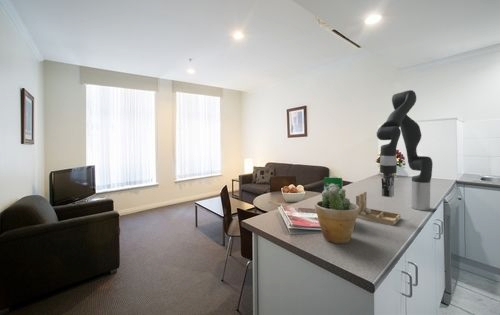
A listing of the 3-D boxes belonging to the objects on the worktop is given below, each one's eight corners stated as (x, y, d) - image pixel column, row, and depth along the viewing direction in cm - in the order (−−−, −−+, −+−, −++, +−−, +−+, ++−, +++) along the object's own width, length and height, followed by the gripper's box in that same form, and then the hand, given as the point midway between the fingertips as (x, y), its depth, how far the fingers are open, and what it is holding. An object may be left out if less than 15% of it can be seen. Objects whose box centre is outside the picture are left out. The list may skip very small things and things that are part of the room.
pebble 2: (366, 212, 129) (366, 207, 129) (372, 213, 127) (372, 208, 127) (364, 213, 127) (364, 208, 127) (370, 214, 125) (370, 209, 125)
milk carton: (342, 218, 122) (342, 175, 121) (342, 224, 114) (341, 177, 112) (325, 216, 126) (325, 174, 124) (324, 222, 118) (323, 177, 116)
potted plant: (310, 230, 107) (310, 181, 106) (348, 229, 107) (348, 180, 105) (322, 247, 89) (321, 188, 87) (367, 247, 88) (367, 187, 87)
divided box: (365, 212, 131) (365, 191, 130) (400, 219, 118) (400, 196, 117) (356, 218, 121) (356, 196, 121) (393, 226, 108) (393, 201, 107)
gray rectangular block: (384, 194, 119) (384, 184, 118) (393, 195, 115) (394, 184, 115) (381, 196, 115) (381, 185, 115) (391, 197, 112) (391, 186, 112)
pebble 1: (360, 215, 124) (360, 210, 124) (366, 217, 121) (366, 211, 121) (358, 217, 122) (358, 211, 121) (364, 218, 119) (364, 213, 119)
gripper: (384, 162, 122) (384, 192, 123) (375, 164, 112) (375, 196, 113) (400, 163, 116) (399, 194, 117) (392, 165, 107) (392, 199, 108)
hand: (387, 195), depth 115 cm, fingers closed on gray rectangular block, 4 cm apart
